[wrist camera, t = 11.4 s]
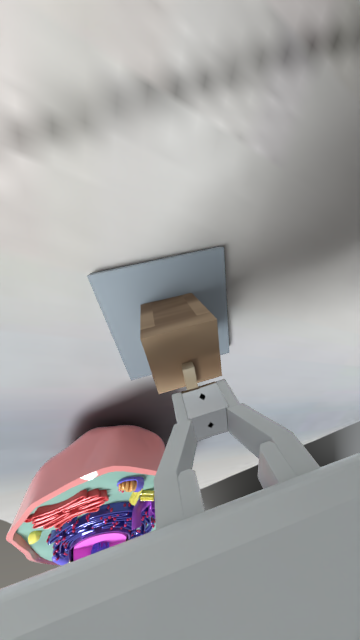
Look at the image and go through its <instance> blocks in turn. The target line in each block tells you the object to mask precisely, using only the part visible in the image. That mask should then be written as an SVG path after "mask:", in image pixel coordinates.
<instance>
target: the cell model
mask: <svg viewBox="0 0 360 640" xmlns="http://www.w3.org/2000/svg"><path fill="white" fill-rule="evenodd" d="M164 451H165V444H164V442H163V440H162V439H161V437H159V436H158V435H157V434H155V433H153V432H151V431H149V430H147V429H144V428H141V427H138V426H134V425H118V426H106V427H97V428H94V429H91V430H89V431H87V432H86V433H84V434H83V435H82V436H80V437H79V438H78V439H77V440H75V441H74V442H73V443H72V444H71V445H69V446H68V447H67V448H66V449H64V450H63V451H61V452H60V453H58V454H57V455H55V456H54V457H52V458H51V459H49V460H48V461H47V462H46V463H45V464H44V465H43V466H42V467H41V468H40V469H39V471H38V472H37V473H36V475H35V476H34V478H33V480H32V482H31V483H30V485H29V487H28V489H27V492H26V494H25V496H24V498H23V501H22V503H21V505H20V507H19V509H18V512H17V514H16V516H15V518H14V521H13V523H12V525H11V527H10V530H9V532H8V534H7V537H6V540H7V541H8V542H10V543H11V544H13V545H14V546H15V547H16V548H18V549H19V550H20V551H21V552H22V553H24V554H25V556H26V558H27V559H28V560H30V561H33V562H37V563H43V564H52V565H65V564H67V563H70V562H73V561H75V560H78V559H80V558H83V557H86V556H88V555H91V554H94V553H96V552H99V551H102V550H104V549H107V548H109V547H112V546H115V545H117V544H120V543H123V542H125V541H128V540H131V539H133V538H136V537H138V536H141V535H144V534H146V533H149V532H152V531H154V530H156V520H155V498H154V478H155V475H156V472H157V470H158V467H159V464H160V462H161V459H162V456H163V453H164Z"/></svg>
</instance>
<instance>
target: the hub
mask: <svg viewBox="0 0 360 640" xmlns="http://www.w3.org/2000/svg"><path fill="white" fill-rule="evenodd" d="M87 277H88V279H89V282H90V284H91V286H92V289H93V291H94V293H95V296H96V298H97V301H98V303H99V305H100V308H101V310H102V312H103V315H104V317H105V320H106V322H107V324H108V327H109V329H110V331H111V334H112V336H113V339H114V341H115V343H116V346H117V348H118V350H119V353H120V355H121V358H122V360H123V362H124V365H125V367H126V369H127V372H128V374H129V377H130V379H131V380H134V379H138V378H141V377H145V376H149V375H152V372H151V369H150V366H149V363H148V360H147V357H146V354H145V352H144V349H143V346H142V343H141V340H140V313H141V305H142V304H146V303H150V302H155V301H159V300H163V299H167V298H172V297H176V296H180V295H184V294H188V293H192V294H193V295H194V296H195V297H196V298H197V299H198V300H199V301H200V302H201V303H202V304H203V305H204V306H205V307H206V308H207V309H208V310H209V311H210V312H211V313H212V314H213V315H214V317H215V318H216V319H217V325H218V337H219V349H220V355H223V354H226V353H229V336H228V316H227V297H226V278H225V259H224V247H214V248H209V249H204V250H200V251H195V252H190V253H185V254H181V255H176V256H171V257H167V258H162V259H157V260H152V261H148V262H143V263H138V264H133V265H129V266H124V267H119V268H114V269H110V270H105V271H100V272H95V273H91V274H89V275H88V276H87Z"/></svg>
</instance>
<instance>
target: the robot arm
mask: <svg viewBox="0 0 360 640" xmlns="http://www.w3.org/2000/svg"><path fill="white" fill-rule="evenodd" d="M172 400H173V405H174V410H175V416H176V421H177V424H175V425H174V427H173V429H172V432H171V435H170V437H169V440H168V443H167V445H166V448H165V451H164V453H163V456H162V459H161V462H160V464H159V467H158V470H157V472H156V475H155V478H154V498H155V520H156V530H154V531H152V532H149V533H146V534H144V535H141V536H138V537H136V538H133V539H131V540H128V541H125V542H123V543H120V544H117V545H115V546H112V547H109V548H107V549H104V550H102V551H99V552H96V553H94V554H91V555H88V556H86V557H83V558H80V559H78V560H75V561H73V562H70V563H67V564H65V565H62V566H59V567H57V568H54V569H52V570H49V571H46V572H44V573H41V574H38V575H36V576H33V577H30V578H28V579H25V580H23V581H20V582H17V583H15V584H12V585H9V586H7V587H4V588H1V589H0V640H360V453H357V454H355V455H352V456H349V457H347V458H344V459H342V460H339V461H336V462H334V463H331V464H328V465H326V466H323V467H320V466H319V465H318V464H317V463H316V462H315V460H314V459H313V457H311V455H310V454H309V452H308V451H307V450H306V449H305V447H304V446H303V445H302V444H301V442H300V441H299V440H298V438H297V437H296V436H295V435H294V433H293V432H291V431H290V430H288V429H286V428H285V427H283V426H281V425H279V424H278V423H276V422H274V421H273V420H271V419H269V418H267V417H266V416H264V415H262V414H261V413H259V412H257V411H255V410H254V409H252V408H250V407H249V406H247V405H245V404H244V403H241V404H240V403H239V401H238V400H237V398H236V396H235V395H234V393H233V392H232V390H231V388H230V387H229V385H228V383H227V382H226V380H225V379H223V380H219V381H216V382H212V383H209V384H206V385H203V386H199V387H197V388H193V389H190V390H186V391H182V392H179V393H175V394H172ZM228 431H229V433H230V434H231V435H232V436H233V437H235V438H236V439H237V440H238V441H239V442H240V443H241V444H243V445H244V446H245V447H246V448H247V449H248V450H249V451H251V452H252V453H253V454H254V455H255V456H256V457H257V458H259V466H258V478H259V481H260V483H261V485H262V487H263V490H260V491H257V492H254V493H252V494H249V495H247V496H244V497H241V498H239V499H236V500H233V501H231V502H228V503H225V504H223V505H220V506H218V507H215V508H212V509H210V510H207V511H205V508H204V504H203V499H202V496H201V492H200V488H199V485H198V481H197V477H196V474H195V471H194V470H192V466H193V461H194V456H195V451H196V446H197V442H198V441H200V440H203V439H206V438H209V437H211V436H214V435H218V434H221V433H225V432H228Z"/></svg>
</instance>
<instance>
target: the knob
mask: <svg viewBox="0 0 360 640" xmlns="http://www.w3.org/2000/svg"><path fill="white" fill-rule="evenodd" d="M140 340H141V343H142V346H143V349H144V352H145V354H146V357H147V360H148V363H149V366H150V369H151V372H152V375H153V378H154V381H155V384H156V387H157V390H158V393H159V394H162V393H165V392H168V391H172V390H175V389H179V388H182V387H185V386H186V388H187V390H190V389H193V388H197V387H198V385H197V383H199V382H202V381H206V380H209V379H212V378H216V377H219V376H222V372H221V360H220V349H219V337H218V325H217V319H216V318H215V317H214V315H213V314H212V313H211V312H210V311H209V310H208V309H207V308H206V307H205V306H204V305H203V304H202V303H201V302H200V301H199V300H198V299H197V298H196V297H195V296H194V295H193V294H192V293H188V294H184V295H180V296H176V297H172V298H167V299H163V300H159V301H155V302H150V303H146V304H142V305H141V313H140Z"/></svg>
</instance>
